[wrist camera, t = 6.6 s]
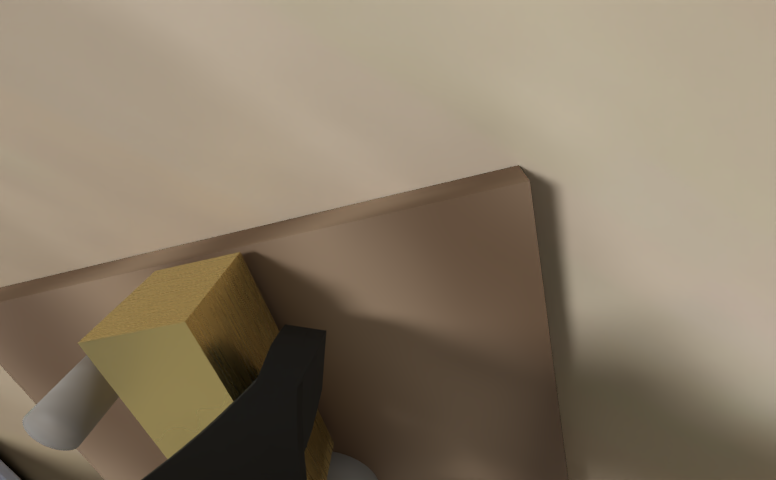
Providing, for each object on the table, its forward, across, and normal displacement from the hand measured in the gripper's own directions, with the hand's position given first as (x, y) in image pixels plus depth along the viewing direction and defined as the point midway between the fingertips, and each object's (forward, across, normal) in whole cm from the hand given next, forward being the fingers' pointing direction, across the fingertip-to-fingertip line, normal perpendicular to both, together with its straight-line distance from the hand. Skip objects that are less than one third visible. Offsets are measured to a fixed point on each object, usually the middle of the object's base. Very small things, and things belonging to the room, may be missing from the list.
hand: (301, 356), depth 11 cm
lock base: (+2, -1, +8) cm, 8 cm away
